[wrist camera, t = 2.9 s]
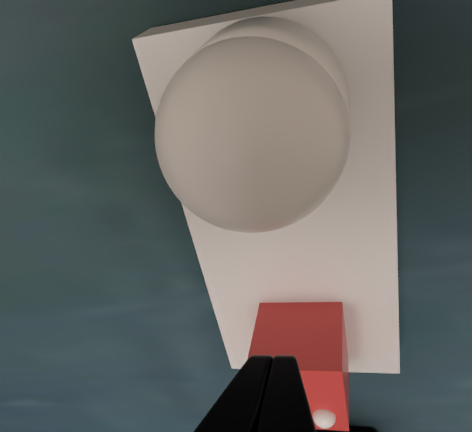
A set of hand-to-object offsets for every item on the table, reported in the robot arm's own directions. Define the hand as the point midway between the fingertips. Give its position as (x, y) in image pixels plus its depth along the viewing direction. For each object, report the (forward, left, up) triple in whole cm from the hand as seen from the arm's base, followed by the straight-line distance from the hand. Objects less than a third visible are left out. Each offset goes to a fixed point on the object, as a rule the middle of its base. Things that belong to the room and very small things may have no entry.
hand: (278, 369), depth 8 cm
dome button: (+2, +2, -13) cm, 13 cm away
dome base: (-4, +1, -13) cm, 14 cm away
